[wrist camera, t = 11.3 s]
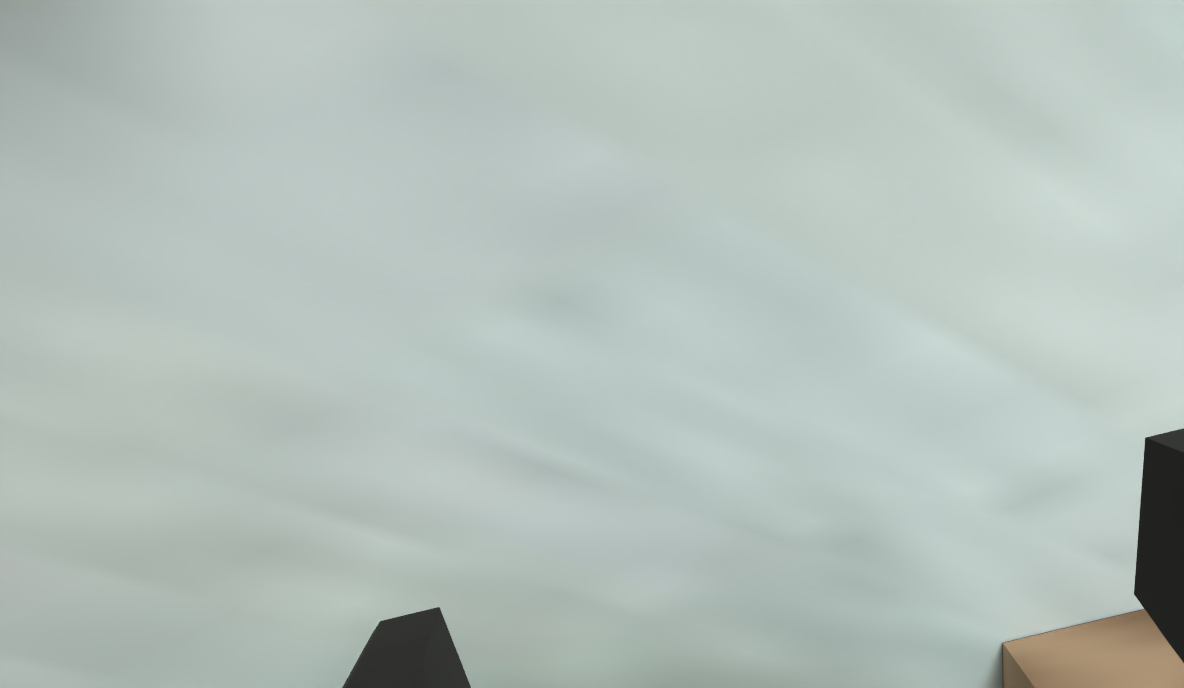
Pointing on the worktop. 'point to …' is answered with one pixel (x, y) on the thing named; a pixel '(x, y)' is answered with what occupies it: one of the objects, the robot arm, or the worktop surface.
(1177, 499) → the robot arm
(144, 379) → the worktop surface
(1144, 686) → the walnut block
